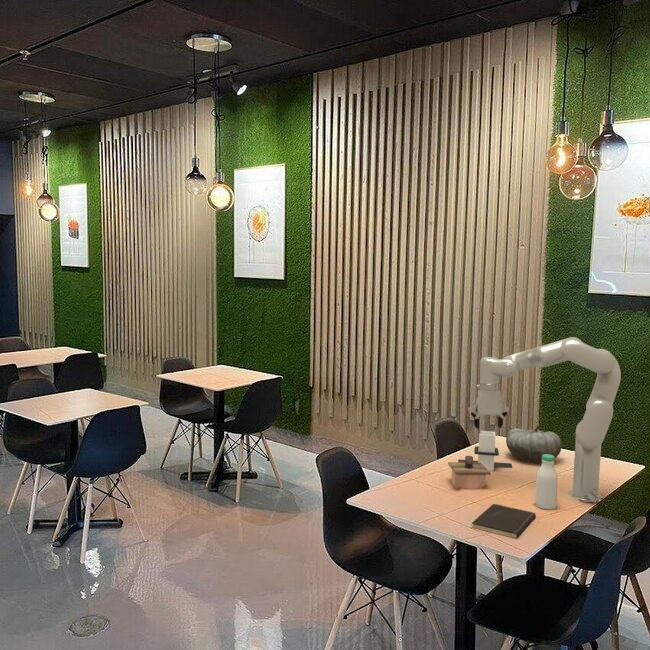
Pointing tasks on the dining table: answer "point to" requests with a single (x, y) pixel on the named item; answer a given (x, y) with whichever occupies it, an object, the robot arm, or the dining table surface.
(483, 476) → the terracotta bowl
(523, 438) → the gourd
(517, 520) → the hardcover book
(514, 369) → the robot arm
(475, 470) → the walnut lid
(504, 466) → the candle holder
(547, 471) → the milk bottle
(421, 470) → the dining table surface
